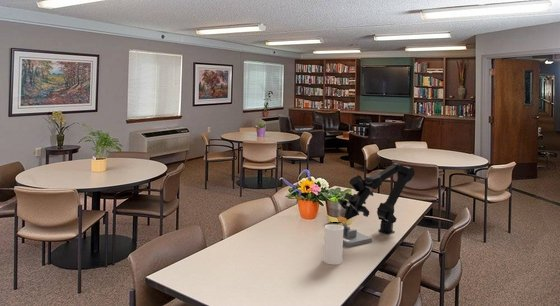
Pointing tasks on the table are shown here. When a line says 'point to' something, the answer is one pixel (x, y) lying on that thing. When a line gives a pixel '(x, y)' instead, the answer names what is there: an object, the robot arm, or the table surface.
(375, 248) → the table surface
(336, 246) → the cup
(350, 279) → the table surface
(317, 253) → the table surface
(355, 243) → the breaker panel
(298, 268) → the table surface
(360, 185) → the robot arm
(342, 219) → the lever
